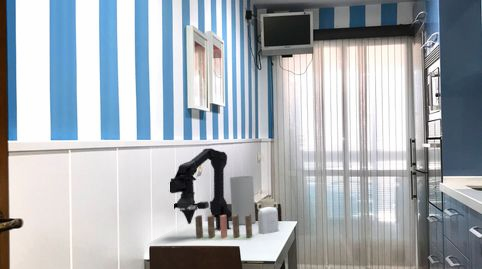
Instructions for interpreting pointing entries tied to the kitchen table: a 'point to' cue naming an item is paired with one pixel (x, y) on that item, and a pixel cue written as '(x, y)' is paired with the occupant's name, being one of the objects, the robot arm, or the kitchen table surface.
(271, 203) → the character mug
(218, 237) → the sage board
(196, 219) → the domino
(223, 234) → the red domino
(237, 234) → the domino
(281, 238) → the kitchen table surface
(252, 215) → the cylinder vase
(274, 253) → the kitchen table surface
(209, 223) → the domino
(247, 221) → the domino
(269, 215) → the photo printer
